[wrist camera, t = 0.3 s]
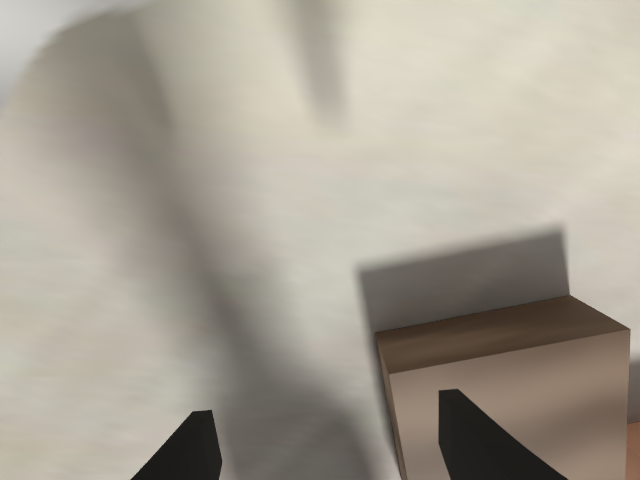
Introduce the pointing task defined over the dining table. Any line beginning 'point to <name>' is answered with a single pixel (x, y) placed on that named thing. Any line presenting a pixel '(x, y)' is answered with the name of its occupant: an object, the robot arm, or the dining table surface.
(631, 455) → the terracotta cube
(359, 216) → the dining table surface
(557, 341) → the walnut plinth
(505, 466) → the robot arm
